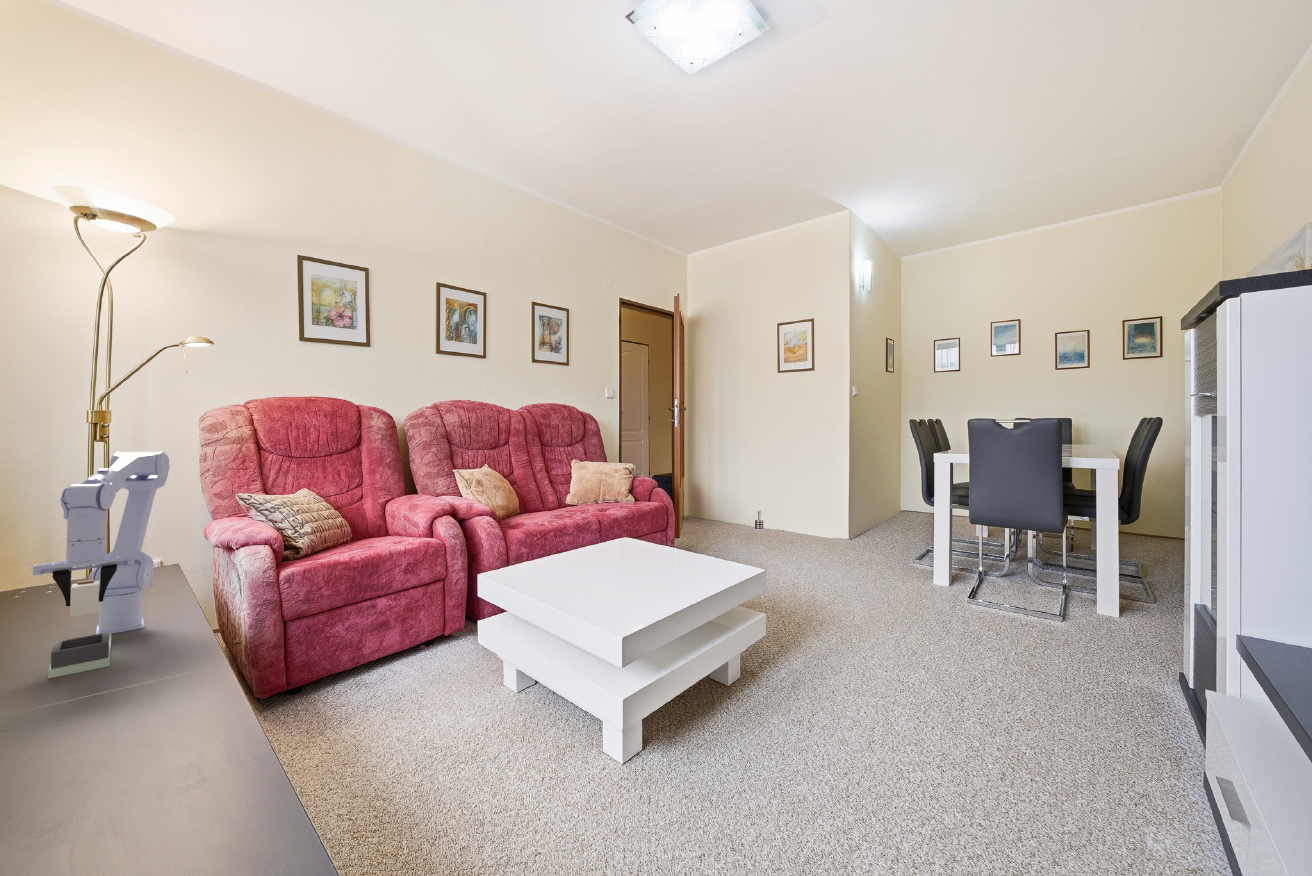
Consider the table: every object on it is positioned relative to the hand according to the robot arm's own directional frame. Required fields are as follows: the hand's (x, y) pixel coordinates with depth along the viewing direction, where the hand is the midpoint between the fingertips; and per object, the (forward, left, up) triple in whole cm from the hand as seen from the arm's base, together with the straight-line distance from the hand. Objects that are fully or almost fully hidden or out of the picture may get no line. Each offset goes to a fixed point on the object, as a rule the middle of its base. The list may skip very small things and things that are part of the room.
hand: (85, 603), depth 111 cm
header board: (+5, 0, -10) cm, 11 cm away
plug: (0, 0, -2) cm, 2 cm away
